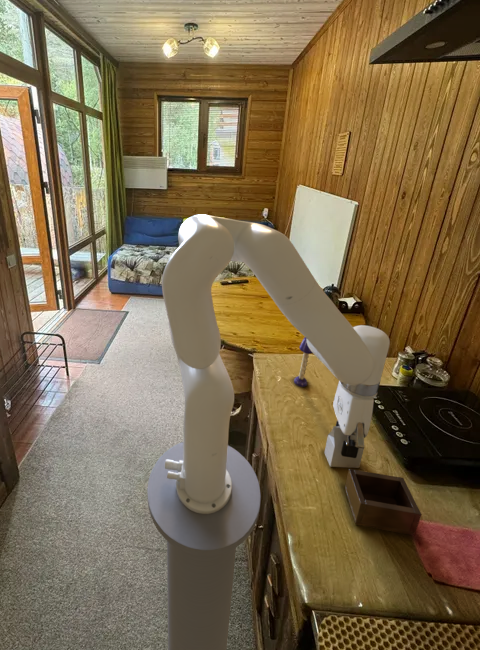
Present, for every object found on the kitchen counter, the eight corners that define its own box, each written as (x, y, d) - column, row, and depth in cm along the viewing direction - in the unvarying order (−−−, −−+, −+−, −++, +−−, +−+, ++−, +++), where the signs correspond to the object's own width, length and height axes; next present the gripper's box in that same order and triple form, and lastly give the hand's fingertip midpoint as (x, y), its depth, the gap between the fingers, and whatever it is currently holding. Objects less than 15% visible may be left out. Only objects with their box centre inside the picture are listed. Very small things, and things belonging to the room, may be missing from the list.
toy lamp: (305, 378, 104) (312, 334, 98) (311, 387, 99) (319, 342, 94) (291, 378, 103) (298, 335, 98) (297, 388, 99) (304, 342, 94)
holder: (355, 524, 61) (360, 503, 59) (344, 488, 68) (349, 468, 66) (414, 535, 59) (421, 514, 57) (396, 497, 66) (403, 477, 64)
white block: (359, 467, 72) (367, 434, 69) (330, 466, 72) (337, 433, 69) (351, 454, 76) (359, 421, 73) (324, 453, 76) (330, 420, 73)
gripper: (331, 357, 76) (320, 416, 81) (352, 406, 60) (337, 475, 65) (363, 360, 74) (350, 420, 80) (395, 412, 58) (375, 482, 64)
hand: (344, 444), depth 73 cm, fingers open, 5 cm apart
